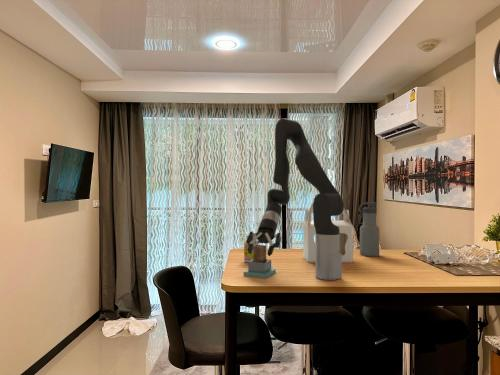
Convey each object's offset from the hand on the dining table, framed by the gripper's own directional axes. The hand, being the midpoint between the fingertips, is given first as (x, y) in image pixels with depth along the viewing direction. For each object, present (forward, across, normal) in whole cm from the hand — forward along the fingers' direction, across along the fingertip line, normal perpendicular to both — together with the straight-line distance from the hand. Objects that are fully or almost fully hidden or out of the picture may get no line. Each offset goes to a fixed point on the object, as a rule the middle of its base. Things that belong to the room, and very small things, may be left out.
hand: (258, 254), depth 136 cm
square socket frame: (+4, 0, +6) cm, 7 cm away
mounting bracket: (-34, +70, +46) cm, 90 cm away
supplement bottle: (-9, -14, +21) cm, 27 cm away
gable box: (-24, +19, +36) cm, 47 cm away
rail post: (+4, 0, +6) cm, 7 cm away
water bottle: (-39, +37, +51) cm, 74 cm away
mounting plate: (+5, 0, +7) cm, 8 cm away
